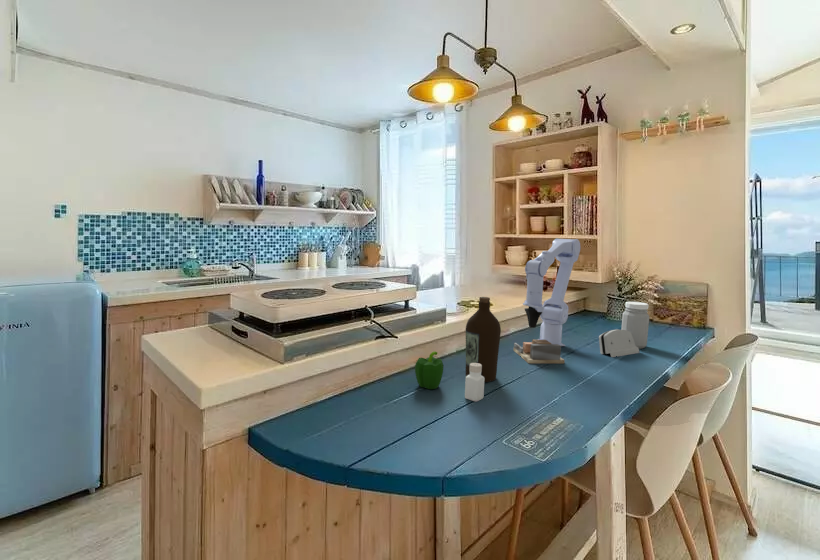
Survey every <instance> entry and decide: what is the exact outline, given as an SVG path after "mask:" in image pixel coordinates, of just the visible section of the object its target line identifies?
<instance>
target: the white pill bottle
mask: <svg viewBox="0 0 820 560" xmlns="http://www.w3.org/2000/svg"><path fill="white" fill-rule="evenodd" d="M469 368H470V369H469V371H470V374H469V375H467V376H466V375H465V380H464V381H465V383H464V398H465V399H467V400H470V401H472V402H479V401H480V400H483V398H484V395H485V382H484V379H485V378H484V377H483V376H481V371H482V370H481V369H482V365H481V364H479V363H470V367H469Z"/></svg>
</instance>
